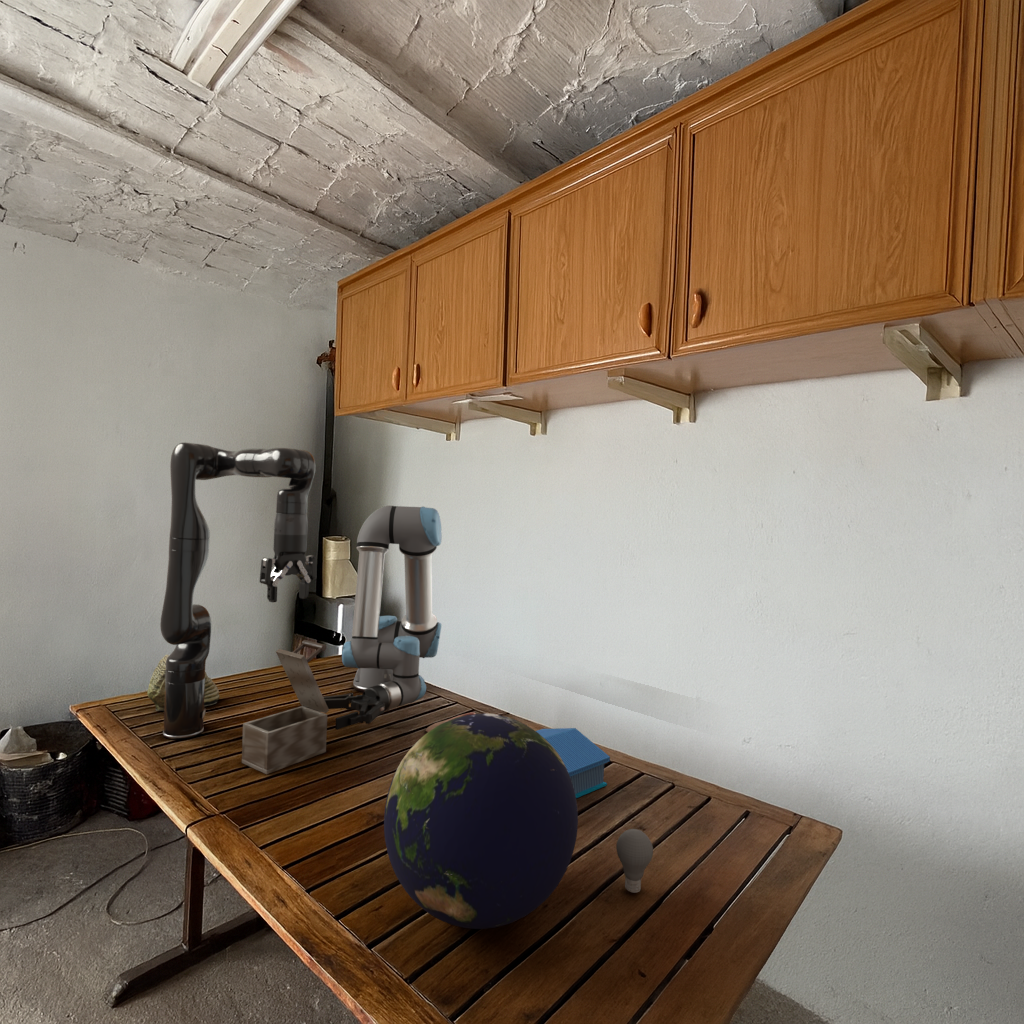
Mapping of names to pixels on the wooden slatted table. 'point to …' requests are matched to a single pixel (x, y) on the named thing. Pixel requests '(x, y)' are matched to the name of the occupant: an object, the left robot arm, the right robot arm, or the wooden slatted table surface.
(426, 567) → the right robot arm
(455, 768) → the globe
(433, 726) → the anatomical model
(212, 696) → the fossil
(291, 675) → the lid
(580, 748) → the model building
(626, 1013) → the wooden slatted table surface
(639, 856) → the light bulb
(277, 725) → the chest
